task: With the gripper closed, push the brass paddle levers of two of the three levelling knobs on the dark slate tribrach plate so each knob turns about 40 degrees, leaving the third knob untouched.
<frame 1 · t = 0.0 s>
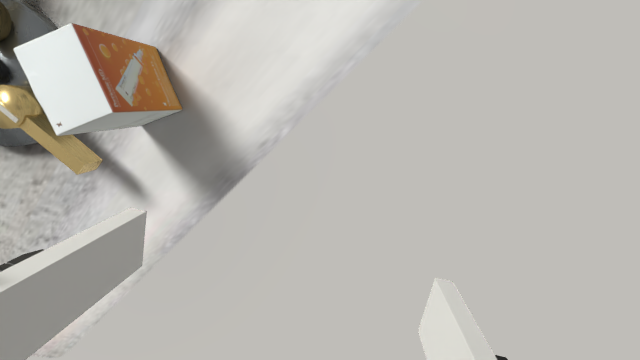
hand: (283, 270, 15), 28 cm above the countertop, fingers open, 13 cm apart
knob B: (46, 130, 40), point 4 cm above the countertop, hinge at 0.0°
small box: (149, 87, 42), on the countertop
tribrach plate: (11, 73, 43), on the countertop
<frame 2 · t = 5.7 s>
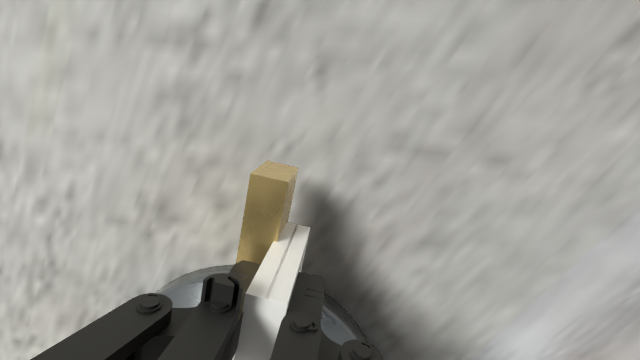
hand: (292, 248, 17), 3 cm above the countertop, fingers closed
knob A: (254, 292, 17), point 4 cm above the countertop, hinge at 0.3°, touching gripper
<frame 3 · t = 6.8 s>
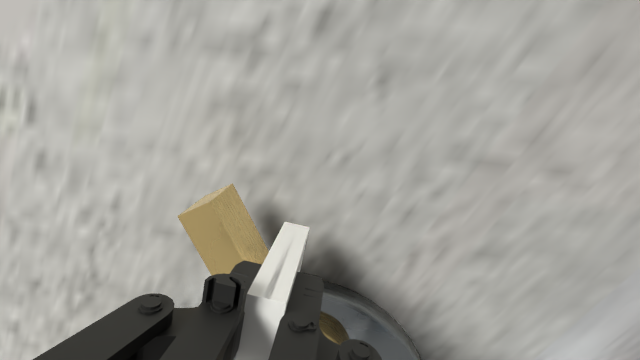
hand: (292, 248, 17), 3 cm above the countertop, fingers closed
knob A: (270, 311, 17), point 4 cm above the countertop, hinge at 37.2°, touching gripper
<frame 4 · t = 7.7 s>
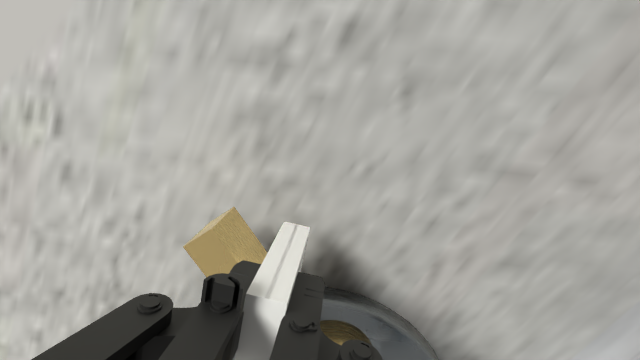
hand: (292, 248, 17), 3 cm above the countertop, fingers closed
knob A: (287, 327, 17), point 4 cm above the countertop, hinge at 45.1°, touching gripper
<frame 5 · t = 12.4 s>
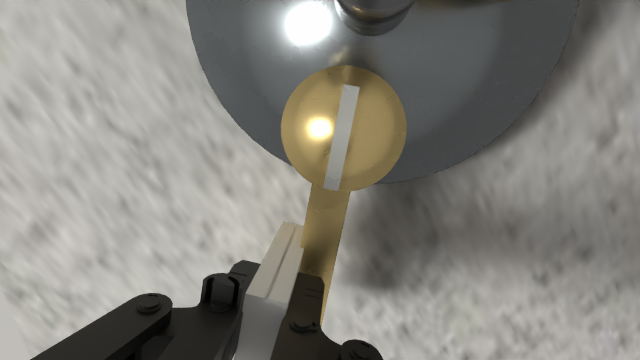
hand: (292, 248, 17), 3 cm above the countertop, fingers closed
knob C: (326, 213, 16), point 4 cm above the countertop, hinge at 0.8°, touching gripper
tribrach plate: (370, 6, 18), on the countertop
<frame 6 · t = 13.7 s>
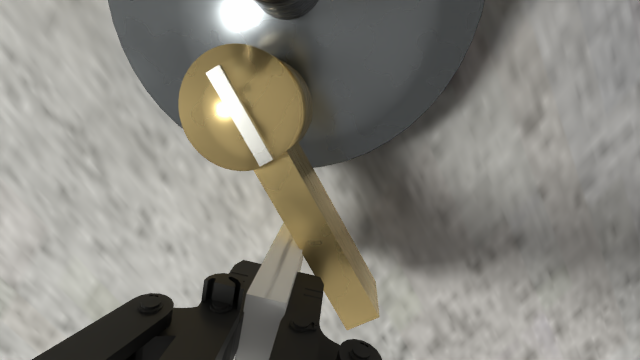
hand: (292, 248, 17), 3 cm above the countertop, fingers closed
knob C: (297, 188, 15), point 4 cm above the countertop, hinge at 40.1°, touching gripper
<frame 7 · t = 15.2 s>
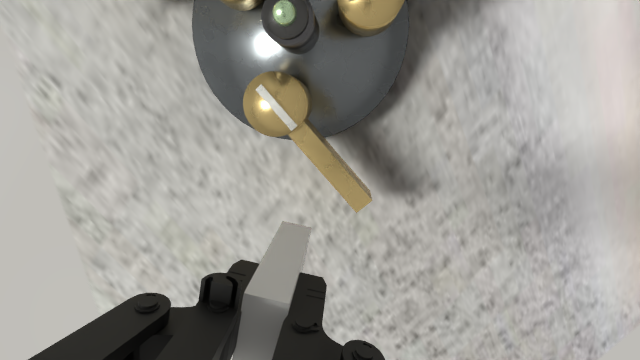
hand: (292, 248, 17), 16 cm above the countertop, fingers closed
knob C: (312, 142, 28), point 4 cm above the countertop, hinge at 53.1°
tribrach plate: (301, 35, 30), on the countertop
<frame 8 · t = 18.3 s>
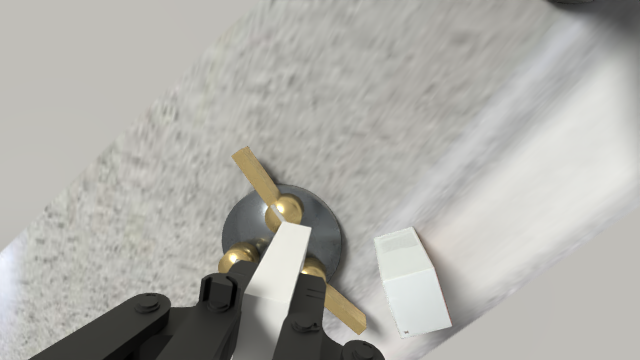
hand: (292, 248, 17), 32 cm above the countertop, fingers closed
knob B: (329, 297, 49), point 4 cm above the countertop, hinge at 0.0°
small box: (400, 254, 52), on the countertop
knob C: (232, 286, 50), point 4 cm above the countertop, hinge at 53.4°
tribrach plate: (283, 240, 52), on the countertop
knob A: (267, 190, 46), point 4 cm above the countertop, hinge at 45.9°
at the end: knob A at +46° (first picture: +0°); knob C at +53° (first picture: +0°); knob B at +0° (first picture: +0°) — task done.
